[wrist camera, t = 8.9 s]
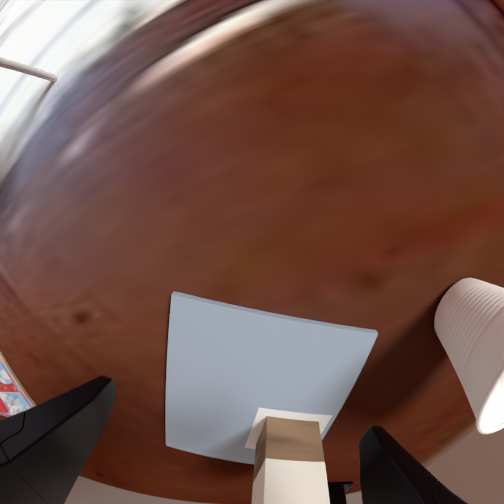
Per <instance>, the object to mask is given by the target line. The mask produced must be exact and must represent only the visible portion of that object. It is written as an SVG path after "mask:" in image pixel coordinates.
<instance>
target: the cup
mask: <svg viewBox="0 0 504 504" xmlns="http://www.w3.org/2000/svg"><path fill="white" fill-rule="evenodd" d="M434 327H435V332H436V334H437V336H438V338H439V340H440V342H441V344H442V345H443V347H444V349H445V351H446V353H447V355H448V356H449V359H450V360H451V363H452V364H453V367H454V369H455V371H456V373H457V375H458V377H459V379H460V381H461V383H462V386H463V388H464V391H465V393H466V395H467V398H468V400H469V403H470V405H471V407H472V410H473V412H474V415H475V417H476V428H477V430H478V431H479V432H480V433H482V434H490V433H493V432H496V431H498V430H500V429H502V428H504V288H502V287H499V286H496V285H493V284H489V283H487V282H484V281H481V280H478V279H475V278H465V279H463V280H460V281H458V282H457V283H455V284H454V285H453V286H452V287H451V288H450V289H449V290H448V291H447V292H446V293H445V295H444V296H443V298H442V299H441V301H440V303H439V305H438V308H437V310H436V314H435V319H434Z"/></svg>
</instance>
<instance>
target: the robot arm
mask: <svg viewBox="0 0 504 504" xmlns="http://www.w3.org/2000/svg"><path fill="white" fill-rule="evenodd" d="M115 397H116V394H115V387H114V381H113V379H111V378H109V377H106V376H103V375H102V376H99V377H97V378H95V379H93V380H91V381H89V382H87V383H85V384H83V385H80V386H78V387H76V388H74V389H72V390H70V391H68V392H65V393H63V394H61V395H59V396H57V397H54V398H52V399H50V400H48V401H46V402H43V403H41V404H39V405H36V406H34V407H32V408H30V409H27V410H26V411H22V412H20V413H18V414H15V415H12V416H10V417H7V418H4V419H1V420H0V504H64V503H65V501H66V499H67V497H68V495H69V493H70V491H71V489H72V487H73V485H74V483H75V481H76V479H77V478H78V476H79V474H80V472H81V470H82V468H83V466H84V464H85V463H86V461H87V459H88V457H89V455H90V453H91V451H92V450H93V448H94V446H95V444H96V442H97V441H98V439H99V437H100V435H101V433H102V431H103V428H104V426H105V423H106V421H107V418H108V416H109V413H110V411H111V408H112V406H113V404H114V401H115ZM359 464H360V484H361V492H362V501H363V504H468V503H466V502H465V501H463V500H462V499H461V498H459V497H458V496H457V495H455V494H454V493H452V492H451V491H450V490H449V489H448V488H447V487H445V486H444V485H443V484H442V483H441V482H440V481H438V480H437V479H436V478H435V477H434V476H433V475H432V474H431V473H430V472H429V471H428V470H427V469H425V468H424V467H423V466H422V465H421V464H420V463H419V462H418V461H417V460H416V459H415V458H414V457H413V456H412V455H411V454H410V453H408V452H407V451H406V450H405V449H404V448H403V447H402V446H401V445H400V444H399V443H398V442H397V441H396V440H395V439H394V438H393V437H392V436H391V435H390V434H389V433H388V432H387V431H386V430H385V429H383V428H382V427H381V426H370V427H369V428H368V429H367V431H366V432H365V434H364V435H363V436H362V438H361V439H360V442H359ZM352 486H353V482H342V483H328V491H329V499H330V504H347V502H346V495H345V493H346V492H347V491H348V490H349V489H350V488H351V487H352Z"/></svg>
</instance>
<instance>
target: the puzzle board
mask: <svg viewBox="0 0 504 504" xmlns="http://www.w3.org/2000/svg"><path fill="white" fill-rule="evenodd" d="M34 406H36V404H35V403H34V401H33V400H32V399H31V397H30V396H29V395H28V393H27V392H26V390H25V389H24V388H23V386H22V385H21V383H20V382H19V380H18V379H17V377H16V376H15V374H14V373H13V371H12V370H11V368H10V367H9V365H8V363H7V362H6V360H5V358H4V357H3V355H2V353H1V352H0V415H3V416H7V417H10V416H12V415H15V414H18V413H20V412H22V411H26V410H27V409H30V408H32V407H34Z"/></svg>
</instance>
